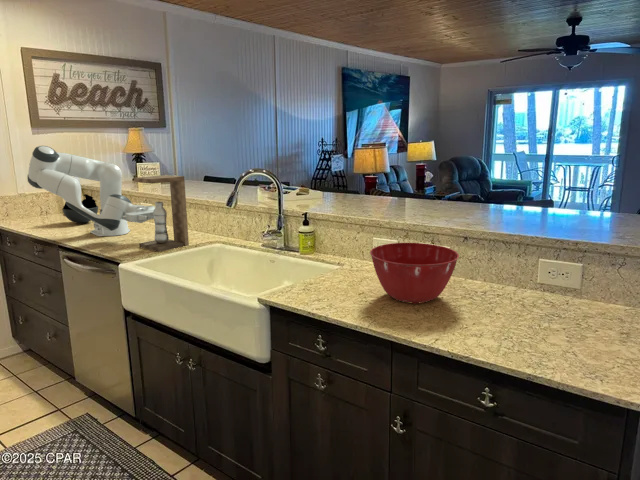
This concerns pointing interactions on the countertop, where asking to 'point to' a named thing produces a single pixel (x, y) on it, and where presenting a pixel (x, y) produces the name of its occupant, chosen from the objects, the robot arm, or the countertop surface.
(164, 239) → the plastic bottle
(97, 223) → the robot arm
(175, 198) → the walnut shelf
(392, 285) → the mixing bowl
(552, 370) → the countertop surface
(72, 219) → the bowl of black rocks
